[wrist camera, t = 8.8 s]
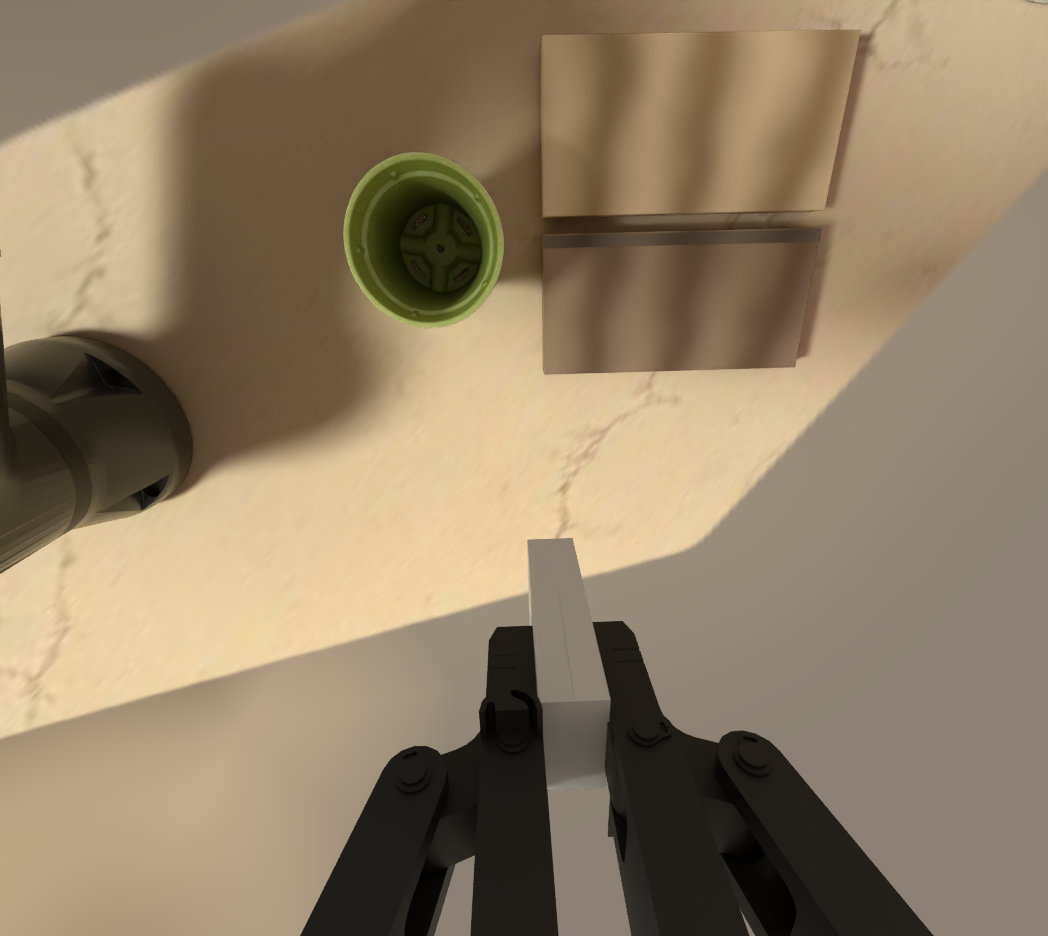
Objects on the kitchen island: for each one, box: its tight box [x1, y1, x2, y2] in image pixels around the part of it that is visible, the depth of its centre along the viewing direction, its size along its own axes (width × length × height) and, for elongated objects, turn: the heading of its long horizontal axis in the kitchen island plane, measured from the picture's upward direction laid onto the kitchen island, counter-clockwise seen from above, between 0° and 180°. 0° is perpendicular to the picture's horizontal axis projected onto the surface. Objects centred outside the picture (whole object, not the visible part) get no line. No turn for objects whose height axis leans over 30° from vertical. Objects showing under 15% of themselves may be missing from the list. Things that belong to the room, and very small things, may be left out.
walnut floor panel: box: [542, 228, 821, 374], centre depth 38 cm, size 20×10×2 cm, turn 91°
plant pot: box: [343, 152, 504, 328], centre depth 33 cm, size 9×9×9 cm
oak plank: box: [540, 30, 861, 218], centre depth 33 cm, size 20×10×2 cm, turn 91°
